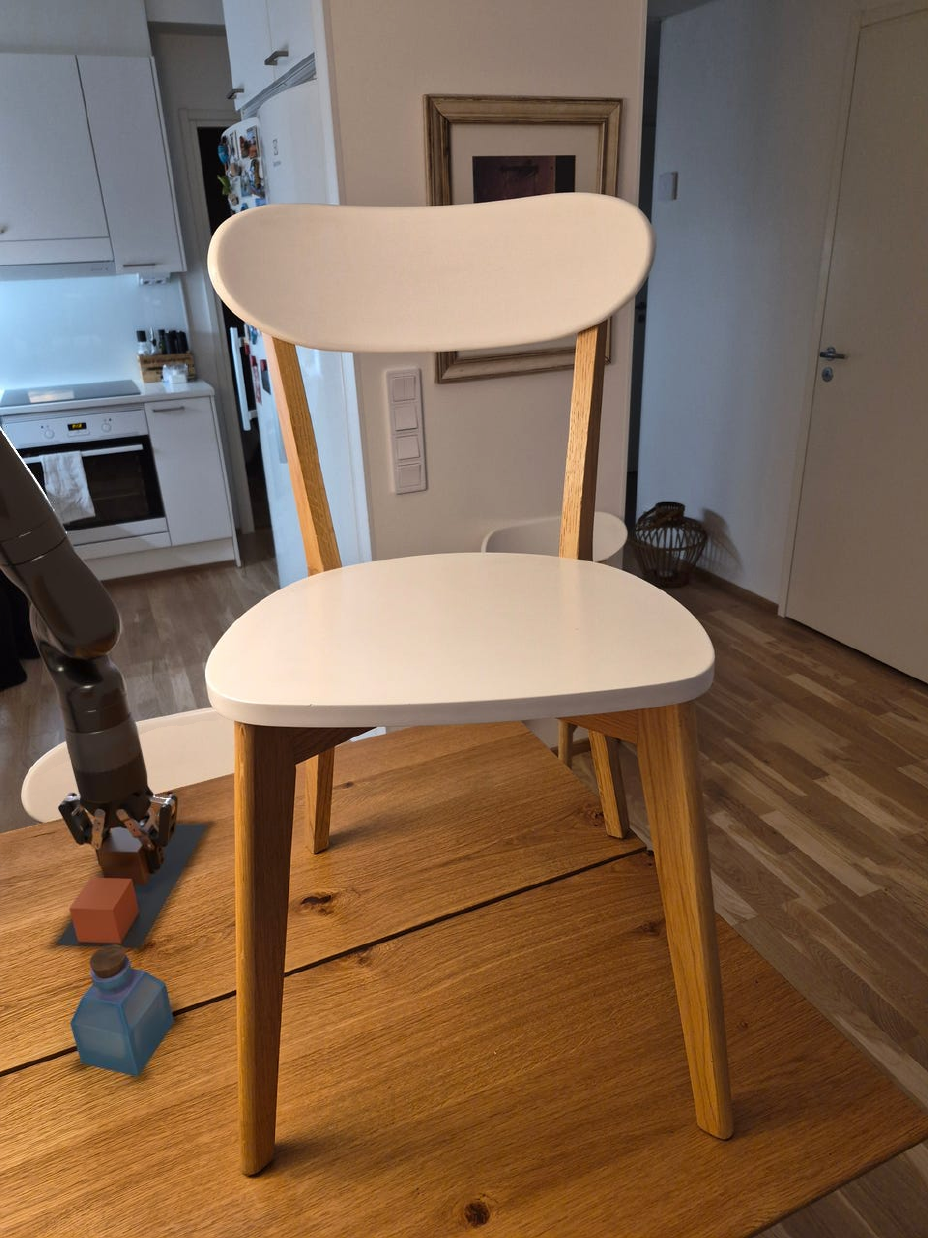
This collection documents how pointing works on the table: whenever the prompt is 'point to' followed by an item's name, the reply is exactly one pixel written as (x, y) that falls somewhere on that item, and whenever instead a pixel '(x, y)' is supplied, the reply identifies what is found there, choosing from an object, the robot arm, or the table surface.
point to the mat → (153, 887)
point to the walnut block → (123, 857)
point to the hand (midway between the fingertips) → (133, 868)
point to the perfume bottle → (120, 1014)
